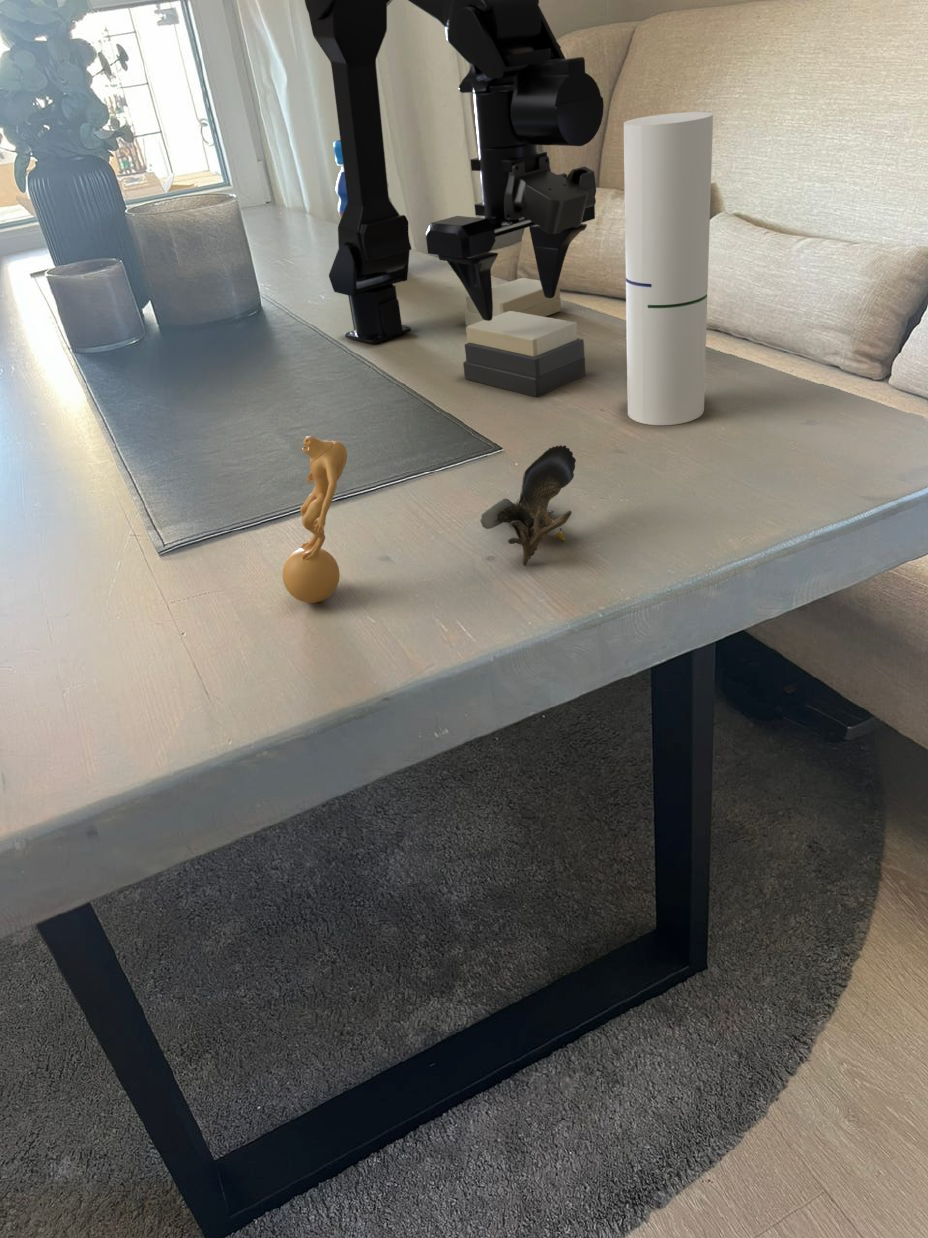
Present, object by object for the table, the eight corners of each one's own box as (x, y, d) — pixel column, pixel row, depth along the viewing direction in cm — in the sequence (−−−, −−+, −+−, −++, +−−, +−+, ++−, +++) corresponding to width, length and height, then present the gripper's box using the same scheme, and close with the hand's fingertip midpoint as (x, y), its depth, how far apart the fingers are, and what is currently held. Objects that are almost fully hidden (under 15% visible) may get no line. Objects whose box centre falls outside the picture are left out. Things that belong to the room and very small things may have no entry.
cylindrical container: (656, 393, 94) (657, 112, 81) (718, 405, 90) (730, 110, 76) (612, 416, 90) (605, 125, 77) (674, 430, 86) (679, 124, 72)
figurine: (285, 576, 70) (249, 424, 64) (364, 561, 71) (336, 409, 65) (292, 634, 63) (252, 471, 57) (379, 616, 64) (349, 453, 58)
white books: (503, 332, 118) (501, 303, 116) (465, 325, 122) (462, 296, 120) (561, 310, 123) (560, 282, 121) (522, 304, 128) (520, 277, 126)
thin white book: (467, 342, 102) (465, 326, 101) (510, 326, 105) (509, 310, 104) (533, 357, 95) (532, 339, 94) (577, 339, 99) (577, 322, 98)
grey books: (464, 379, 104) (460, 343, 102) (513, 359, 108) (510, 324, 106) (536, 397, 97) (533, 359, 95) (586, 375, 101) (584, 338, 99)
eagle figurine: (604, 549, 66) (599, 475, 73) (544, 483, 63) (544, 411, 69) (519, 597, 70) (521, 522, 76) (457, 537, 66) (464, 464, 73)
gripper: (495, 162, 80) (509, 344, 88) (635, 128, 90) (636, 295, 98) (413, 160, 87) (433, 328, 96) (551, 128, 97) (558, 283, 106)
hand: (519, 308), depth 99 cm, fingers open, 9 cm apart
